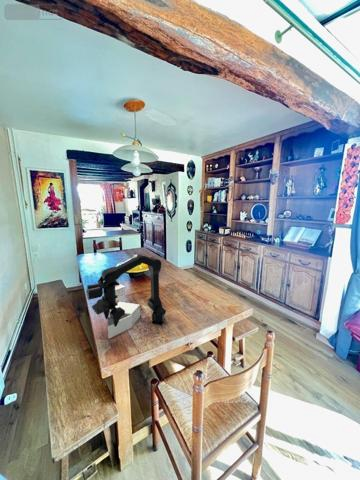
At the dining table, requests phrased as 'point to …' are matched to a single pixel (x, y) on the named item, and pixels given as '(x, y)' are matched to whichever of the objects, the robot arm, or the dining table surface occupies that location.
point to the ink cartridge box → (120, 292)
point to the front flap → (119, 326)
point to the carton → (130, 310)
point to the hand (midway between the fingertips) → (111, 322)
